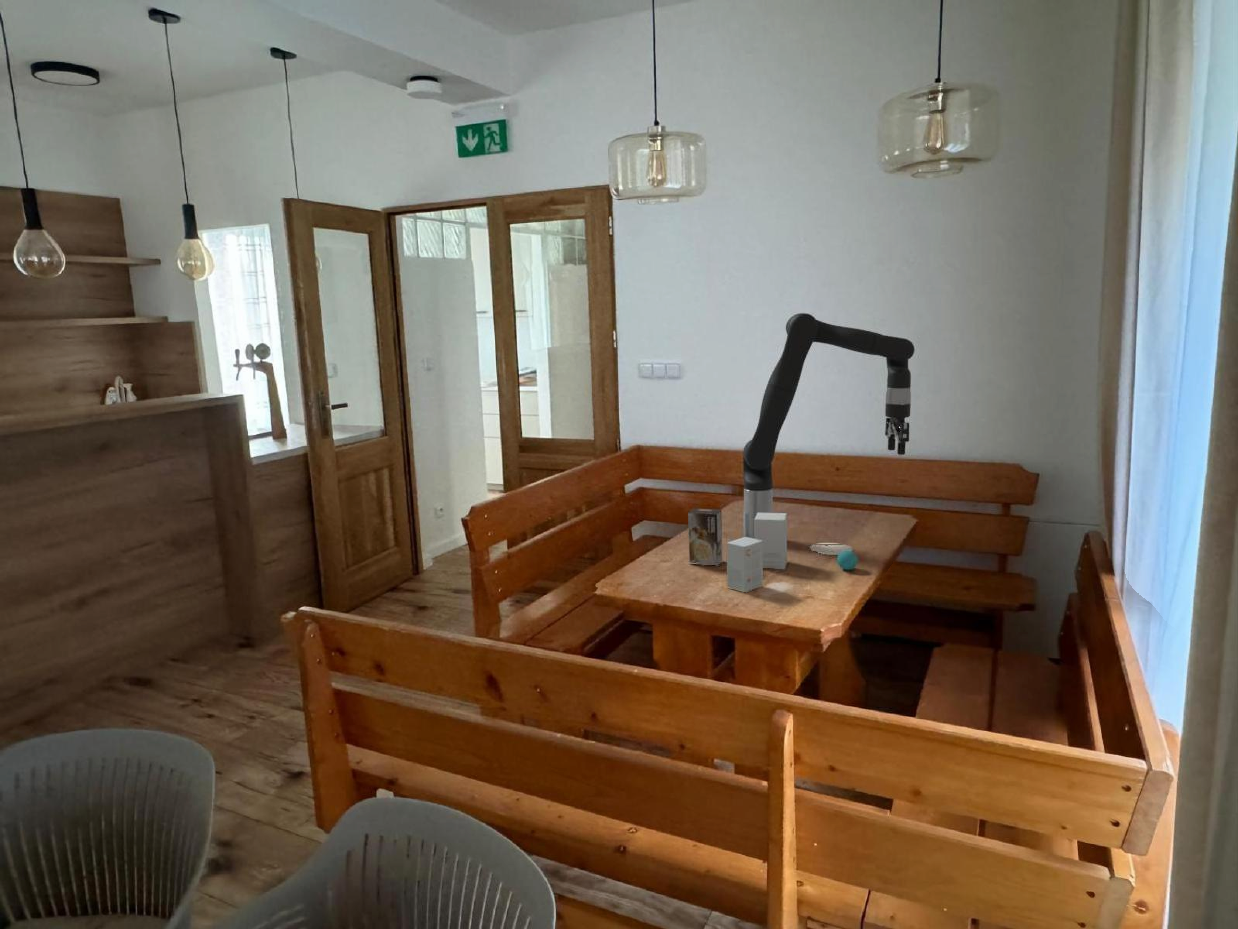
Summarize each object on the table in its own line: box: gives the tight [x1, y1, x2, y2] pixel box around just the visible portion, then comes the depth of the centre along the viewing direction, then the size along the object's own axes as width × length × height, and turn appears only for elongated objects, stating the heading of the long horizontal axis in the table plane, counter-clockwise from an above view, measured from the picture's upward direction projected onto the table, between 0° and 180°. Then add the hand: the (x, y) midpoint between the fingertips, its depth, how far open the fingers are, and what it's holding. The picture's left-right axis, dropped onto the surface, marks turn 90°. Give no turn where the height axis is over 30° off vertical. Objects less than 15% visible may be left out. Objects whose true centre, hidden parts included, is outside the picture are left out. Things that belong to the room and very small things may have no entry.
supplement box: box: [754, 512, 788, 570], centre depth 240 cm, size 9×9×15 cm
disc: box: [809, 542, 853, 556], centre depth 256 cm, size 13×13×1 cm
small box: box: [726, 536, 764, 593], centre depth 221 cm, size 8×6×13 cm
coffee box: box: [687, 507, 723, 566], centre depth 244 cm, size 9×6×16 cm
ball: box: [836, 550, 858, 571], centre depth 235 cm, size 6×6×6 cm
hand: (896, 452), depth 261 cm, fingers open, 8 cm apart
